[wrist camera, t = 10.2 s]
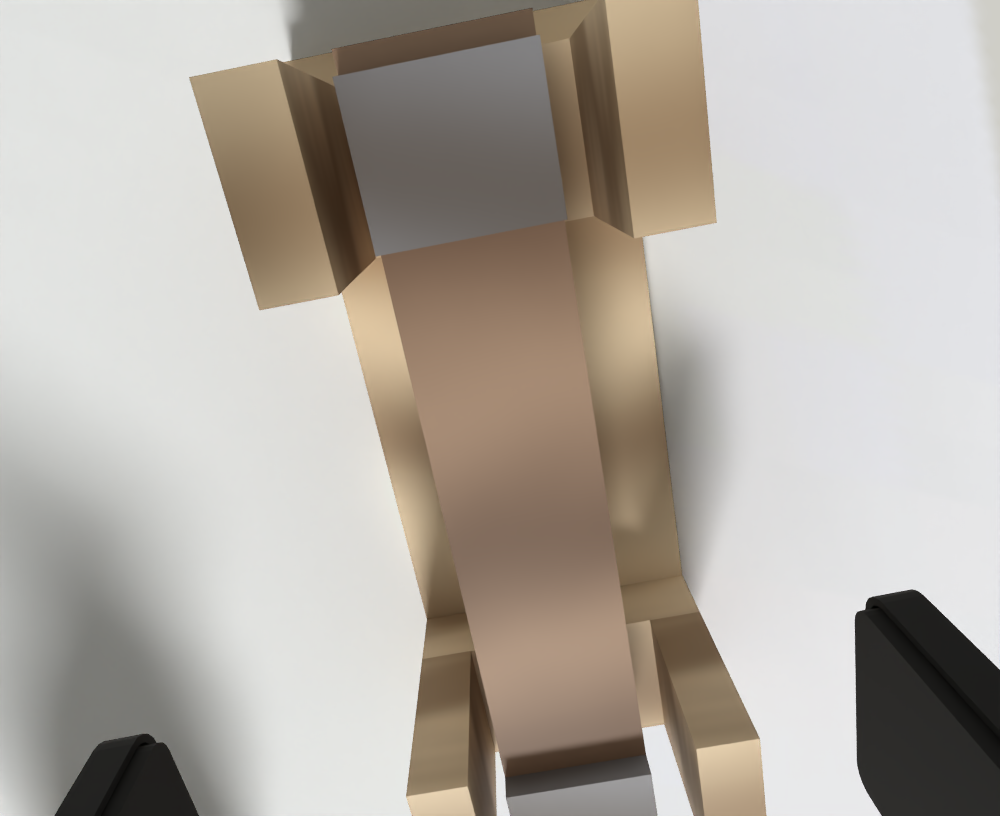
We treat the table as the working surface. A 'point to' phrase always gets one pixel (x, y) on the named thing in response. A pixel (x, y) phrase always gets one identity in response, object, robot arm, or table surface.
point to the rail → (503, 394)
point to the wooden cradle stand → (607, 344)
